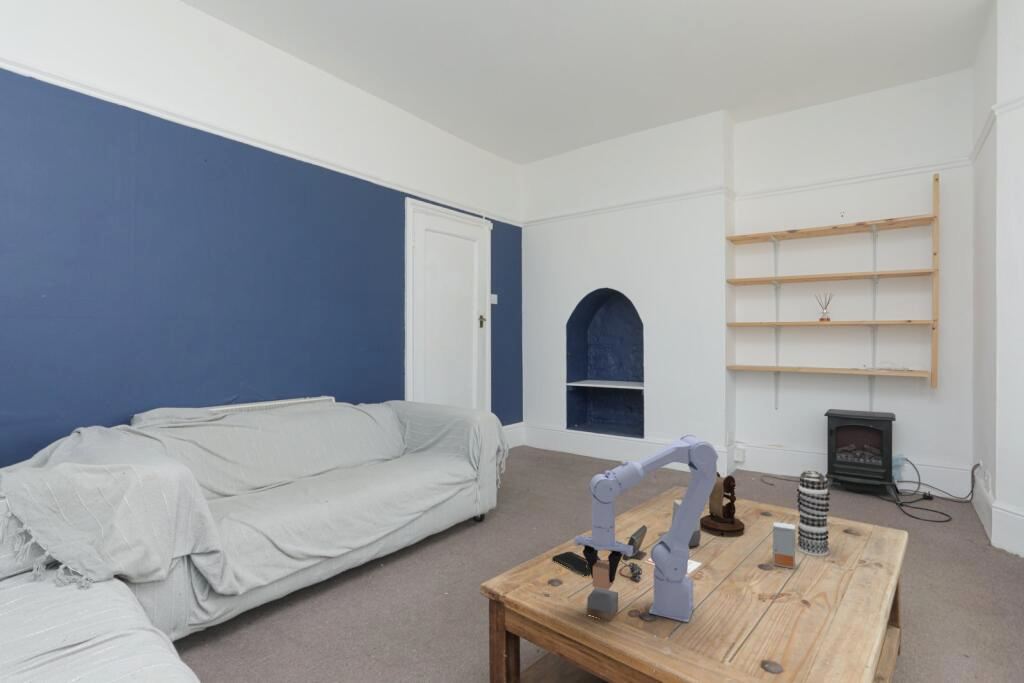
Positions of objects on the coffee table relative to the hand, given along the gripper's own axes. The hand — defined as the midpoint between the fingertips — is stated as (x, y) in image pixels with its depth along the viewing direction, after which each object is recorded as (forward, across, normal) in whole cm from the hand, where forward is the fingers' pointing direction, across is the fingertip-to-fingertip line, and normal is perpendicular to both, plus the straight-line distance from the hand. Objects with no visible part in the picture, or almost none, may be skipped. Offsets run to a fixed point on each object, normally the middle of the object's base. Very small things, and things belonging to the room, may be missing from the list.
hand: (603, 578), depth 131 cm
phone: (+9, -16, +23) cm, 30 cm away
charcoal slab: (+7, 0, 0) cm, 7 cm away
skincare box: (+9, +39, +52) cm, 66 cm away
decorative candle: (+9, +47, +68) cm, 83 cm away
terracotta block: (+2, 0, 0) cm, 2 cm away
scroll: (+9, +19, +74) cm, 77 cm away
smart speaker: (+9, +10, +55) cm, 57 cm away
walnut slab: (+9, 0, 0) cm, 9 cm away
